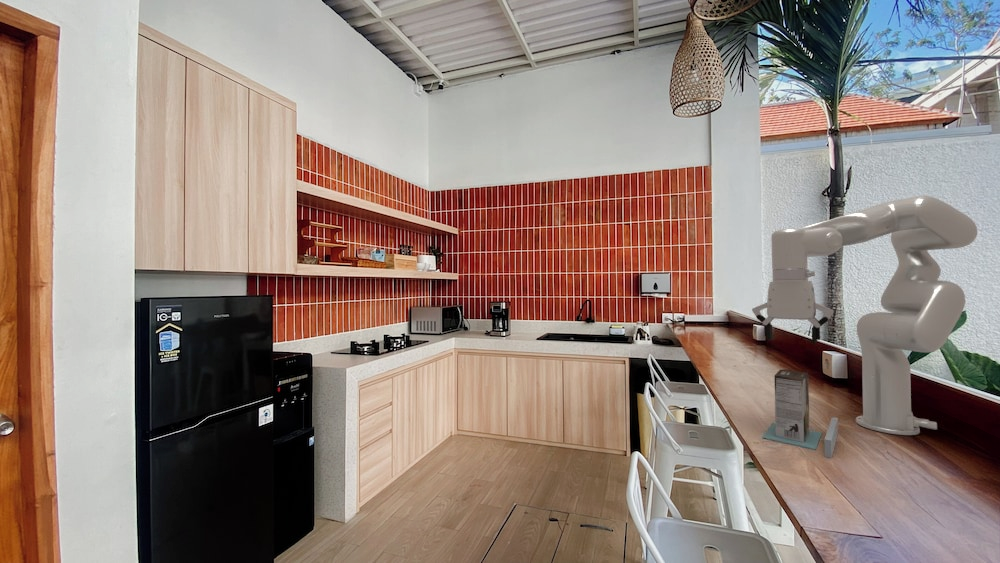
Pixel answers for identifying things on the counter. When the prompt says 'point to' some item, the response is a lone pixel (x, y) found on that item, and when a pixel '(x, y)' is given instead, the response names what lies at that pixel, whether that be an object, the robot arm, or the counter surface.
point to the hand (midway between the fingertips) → (791, 341)
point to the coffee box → (791, 405)
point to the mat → (809, 443)
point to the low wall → (831, 437)
